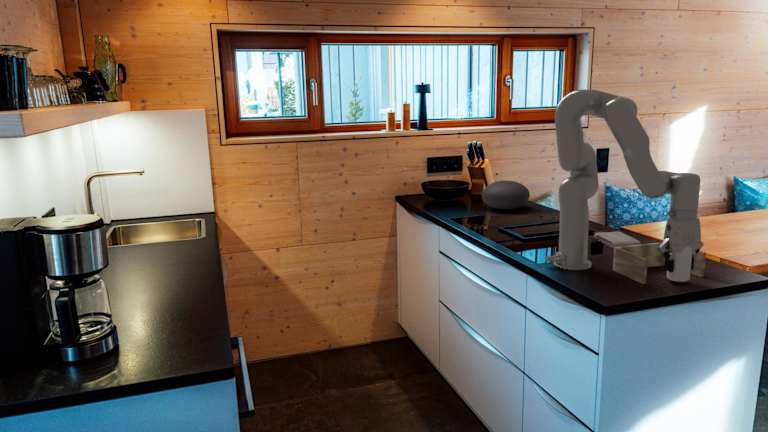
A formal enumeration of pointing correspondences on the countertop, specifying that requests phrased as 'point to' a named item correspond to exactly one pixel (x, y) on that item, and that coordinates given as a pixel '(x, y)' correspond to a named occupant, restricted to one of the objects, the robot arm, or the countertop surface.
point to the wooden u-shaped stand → (647, 261)
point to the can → (681, 266)
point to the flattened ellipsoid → (505, 195)
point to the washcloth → (616, 239)
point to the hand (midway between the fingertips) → (678, 269)
